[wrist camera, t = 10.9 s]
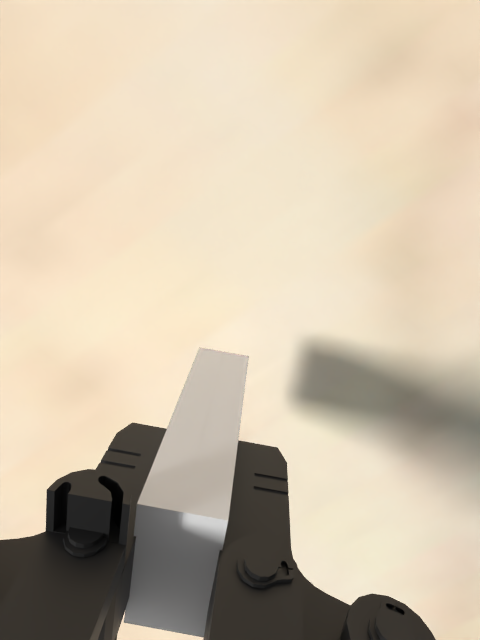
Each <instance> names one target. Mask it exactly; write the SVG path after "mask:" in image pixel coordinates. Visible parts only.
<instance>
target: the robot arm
mask: <svg viewBox="0 0 480 640" xmlns="http://www.w3.org/2000/svg"><path fill="white" fill-rule="evenodd" d="M248 358H249V356H244V355H239V354H233V353H228V352H222V351H217V350H211V349H206V348H200V347H199V350H198V352H197V355H196V357H195V360H194V362H193V365H192V367H191V370H190V372H189V375H188V377H187V380H186V382H185V385H184V387H183V390H182V392H181V395H180V397H179V400H178V402H177V405H176V407H175V410H174V412H173V415H172V417H171V420H170V422H169V425H168V427H167V429H164V428H159V427H153V426H148V425H142V424H137V423H131V424H130V425H128V426H127V427H125V428H124V429H122V430H121V431H119V432H118V433H117V434H116V436H115V437H114V439H113V441H112V442H111V444H110V446H109V448H108V451H106V453H105V455H104V456H103V458H102V460H101V463H99V465H98V467H97V468H96V470H91V469H87V470H82V471H77V472H72V473H70V474H68V475H66V476H64V477H62V478H60V479H58V480H56V481H55V482H54V483H53V484H52V485H51V486H50V487H49V488H48V489H47V508H46V531H45V532H43V533H41V534H38V535H35V536H31V537H25V538H20V539H9V540H0V640H117V633H118V630H119V627H120V624H121V621H122V618H123V615H124V612H125V618H124V623H130V624H135V625H140V626H146V627H151V628H156V629H162V630H167V631H172V632H178V633H183V634H188V635H194V636H199V637H204V640H436V639H435V638H434V636H433V634H432V632H431V631H430V630H429V628H428V627H427V626H426V624H425V623H424V622H423V620H422V619H421V618H420V616H418V615H417V614H416V613H415V612H414V611H412V610H411V609H410V608H409V607H408V606H406V605H405V604H403V603H401V602H399V601H397V600H395V599H393V598H391V597H389V596H384V595H377V594H369V595H365V596H362V597H359V598H358V599H357V600H356V601H355V602H354V603H353V604H352V605H351V606H350V605H348V604H346V603H344V602H342V601H340V600H338V599H336V598H334V597H332V596H330V595H328V594H326V593H324V592H323V591H321V590H320V589H318V588H316V587H315V586H314V585H313V584H311V583H310V582H309V581H308V580H307V579H306V578H305V577H304V576H303V574H302V573H301V572H300V571H299V569H298V568H297V564H296V562H295V561H294V559H293V556H292V551H291V539H290V518H289V497H288V482H287V480H288V476H287V462H286V461H285V459H284V457H283V456H282V454H281V452H280V451H279V449H278V448H277V447H271V446H266V445H260V444H255V443H249V442H244V441H238V438H239V430H240V422H241V414H242V406H243V398H244V390H245V382H246V374H247V366H248Z"/></svg>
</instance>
